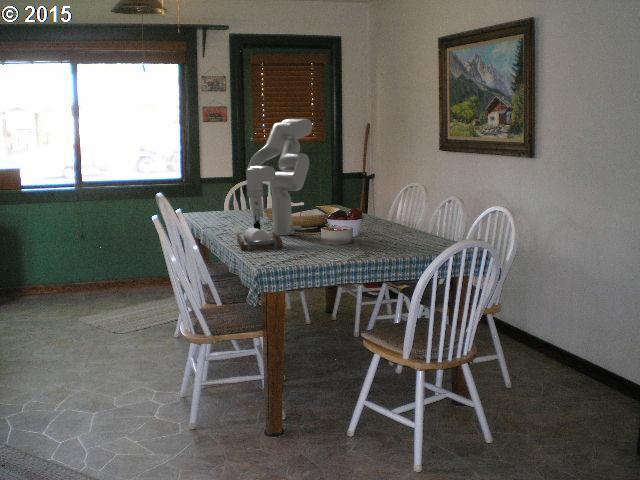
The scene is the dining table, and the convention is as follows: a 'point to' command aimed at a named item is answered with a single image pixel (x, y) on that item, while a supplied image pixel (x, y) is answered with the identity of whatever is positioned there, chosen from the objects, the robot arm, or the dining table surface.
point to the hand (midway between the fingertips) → (257, 231)
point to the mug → (256, 235)
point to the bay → (260, 243)
